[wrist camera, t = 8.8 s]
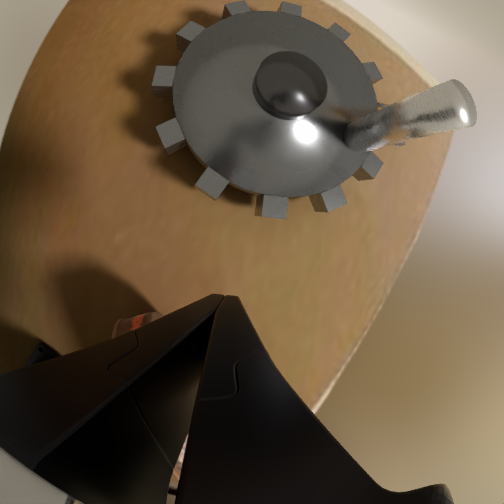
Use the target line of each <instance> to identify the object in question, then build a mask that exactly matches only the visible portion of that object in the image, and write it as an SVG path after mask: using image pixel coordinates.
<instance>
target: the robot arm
mask: <svg viewBox="0 0 504 504" xmlns="http://www.w3.org/2000/svg"><path fill="white" fill-rule="evenodd" d="M41 348H42V349H43V350H42V349H41ZM188 432H189V433H188ZM187 435H188V437H187ZM186 437H187V442H186V447H185V452H184V457H183V463H182V468H181V473H180V478H179V483H178V488H177V494H176V499H175V504H454V503H453V499H452V497H451V493H450V491H449V489H448V488H447V486H446V485H445V484H435V485H430V486H426V487H422V488H419V489H415V490H411V491H407V492H393V491H389V490H386V489H384V488H382V487H381V486H380V485H378V484H377V483H376V482H375V481H374V480H373V479H372V478H371V477H370V476H369V475H368V474H367V472H366V471H365V470H364V469H363V468H362V467H361V466H360V465H359V464H358V463H357V462H356V461H355V460H354V459H353V458H352V456H351V455H350V454H349V453H348V452H347V451H346V450H345V449H344V448H343V446H342V445H341V444H340V443H339V442H338V441H337V440H336V439H335V438H334V436H332V434H331V433H330V432H329V431H328V430H327V428H326V427H325V426H324V425H323V424H322V423H321V422H320V420H319V419H318V418H317V417H316V416H315V415H314V413H313V412H312V411H311V410H310V409H309V408H308V406H307V405H306V404H305V403H304V402H303V400H302V399H301V398H300V397H299V396H298V394H297V393H296V392H295V391H294V390H293V388H292V387H291V386H290V385H289V384H288V382H287V381H286V380H285V378H284V377H283V376H282V374H281V373H280V372H279V370H278V369H277V368H276V366H275V364H274V363H273V361H272V359H271V358H270V356H269V354H268V352H267V350H266V349H265V347H264V345H263V343H262V342H261V340H260V338H259V336H258V334H257V332H256V330H255V328H254V326H253V324H252V322H251V320H250V318H249V317H248V315H247V313H246V311H245V309H244V307H243V305H242V303H241V301H240V299H239V297H238V296H231V295H226V296H224V295H221V294H211V295H209V296H206V297H204V298H202V299H200V300H198V301H196V302H194V303H191V304H189V305H187V306H185V307H183V308H181V309H178V310H176V311H174V312H172V313H170V314H167V315H165V316H163V317H161V318H159V319H156V320H154V321H152V322H150V323H147V324H145V325H143V326H141V327H139V328H136V329H135V331H134V330H131V331H129V332H126V333H124V334H122V335H119V336H117V337H114V338H112V339H110V340H107V341H104V342H101V343H99V344H96V345H93V346H90V347H87V348H84V349H81V350H78V351H75V352H72V353H69V354H66V355H63V356H60V357H58V356H57V355H56V354H55V353H54V352H53V351H52V350H51V349H50V348H49V347H48V346H46V345H45V344H44V343H42V342H40V343H39V344H38V345H37V346H36V348H35V350H34V351H33V353H32V355H31V357H30V358H29V360H28V362H27V364H26V366H25V367H24V368H21V369H18V370H14V371H11V372H7V373H4V374H1V375H0V504H166V501H167V494H168V488H169V483H170V479H171V476H172V473H173V469H174V468H175V466H176V463H177V460H178V458H179V455H180V453H181V450H182V448H183V445H184V443H185V440H186Z"/></svg>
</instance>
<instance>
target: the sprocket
mask: <svg viewBox="0 0 504 504" xmlns="http://www.w3.org/2000/svg"><path fill="white" fill-rule="evenodd" d="M301 7H302V6H299V5H295V4H291V3H287V2H283V1H282V3H281V5H280V7H279V9H278V11H277V12H273V11H253V12H252V11H251V9H250V8H249V6H248V5H247V3H246V2H245V1H238V2H233V3H229V4H225V6H224V11H223V17H222V20H220V21H218V22H216V23H215V24H213V25H211V26H209V27H208V28H205V27H203V26H201V25H199V24H197V23H195V22H193V21H190V22H189V23H188V24H186V25H185V26H184V27H183V28H182V29H181V30H180V31H179V32H177V33H176V37H177V48H178V49H179V50H181V51H182V52H184V53H183V55H182V57H181V59H180V61H179V63H178V65H177V66H156V69H155V73H154V78H153V82H152V88H153V91H154V94H155V96H156V98H173V104H174V109H175V114H176V118H173V119H171V120H169V121H167V122H165V123H162V124H160V125H158V126H156V129H157V132H158V134H159V136H160V139H161V141H162V143H163V145H164V148H165V150H166V151H167V153H168V155H169V154H172V153H174V152H176V151H178V150H180V149H182V148H184V147H188V148H189V150H190V151H191V152H192V154H193V155H194V157H195V158H196V159H197V160H198V161H199V162H200V163H201V165H202V166H203V167H204V168H205V169H206V170H205V172H204V173H203V174H202V176H201V177H200V178H199V180H198V181H197V183H196V184H195V187H196V188H197V189H199V190H200V191H202V192H203V193H204V194H206V195H207V196H209V197H210V198H212V199H213V200H216V199H217V198H218V197H219V195H220V194H221V192H222V191H223V190H224V188H225V187H226V186H227V184H228V185H230V186H232V187H234V188H236V189H238V190H241V191H243V192H247V193H250V194H253V195H257V198H256V208H255V216H261V217H270V218H280V219H286V216H287V206H288V197H301V196H308V195H309V198H310V200H311V202H312V205H313V207H314V210H315V212H330V211H332V210H334V209H336V208H338V207H341V206H343V205H345V204H347V202H346V199H345V196H344V194H343V191H342V189H341V186H340V185H339V184H341V183H343V182H344V181H345V180H347V179H348V178H349V177H351V176H352V175H353V176H354V177H355V178H356V179H357V180H358V181H360V180H369V179H374V178H375V176H376V175H377V173H378V171H379V170H380V168H381V166H382V165H383V162H382V161H381V160H380V159H379V158H378V157H377V156H376V155H375V154H374V153H373V152H372V151H371V150H374V149H377V148H381V147H385V146H389V145H393V144H397V143H401V142H405V141H409V140H413V139H417V138H421V137H425V136H430V135H434V134H439V133H443V132H448V131H453V130H458V129H462V128H467V127H472V126H474V125H475V123H476V119H477V114H476V107H475V104H474V101H473V99H472V96H471V94H470V93H469V91H468V90H467V88H466V87H465V86H464V85H463V84H462V83H461V82H459V81H458V80H454V79H453V80H450V81H447V82H444V83H442V84H439V85H437V86H434V87H432V88H429V89H427V90H424V91H422V92H419V93H417V94H414V95H412V96H410V97H407V98H405V99H403V100H400V101H398V102H396V103H393V104H391V105H389V106H387V107H384V108H380V107H378V106H377V100H376V95H375V91H374V88H373V84H374V83H376V82H378V81H379V80H381V79H383V78H382V76H381V74H380V72H379V70H378V68H377V66H376V64H375V63H374V62H369V63H361V62H360V60H359V59H358V58H357V56H356V55H355V54H354V53H353V51H352V50H351V49H350V48H349V47H348V46H347V45H346V44H345V43H344V41H345V40H346V39H347V38H348V37H349V35H350V33H348V32H347V31H346V30H345V29H343V28H342V27H341V26H339V25H338V24H337V23H334V24H333V25H332V26H331V27H330V28H329V29H328V30H327V29H325V28H324V27H322V26H320V25H318V24H316V23H314V22H312V21H310V20H307V19H305V18H302V17H301ZM176 119H177V120H176ZM186 145H187V146H186Z"/></svg>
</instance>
